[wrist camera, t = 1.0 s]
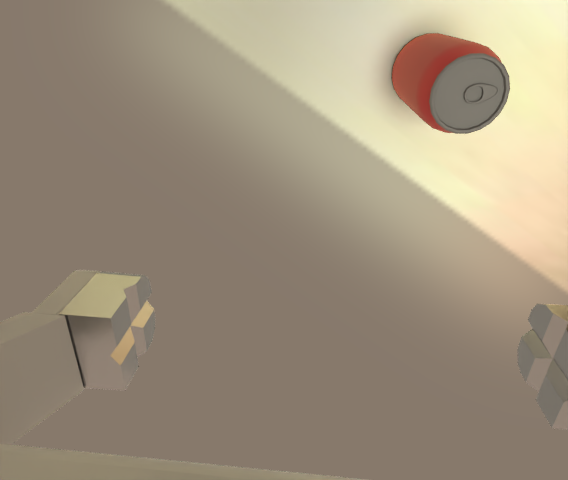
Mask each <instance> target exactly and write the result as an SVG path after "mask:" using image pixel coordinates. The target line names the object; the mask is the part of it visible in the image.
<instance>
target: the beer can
mask: <svg viewBox="0 0 568 480" xmlns="http://www.w3.org/2000/svg"><path fill="white" fill-rule="evenodd" d="M392 81H393V86H394V89H395V91H396V93H397V94H398V96H399V97H400V98H401V99H402V100H403V101H404V102H405V103H406V104H407V105H408V106H409V107H410V108H411V109H412V110H413V111H414V112H415V113H416V114H417V115H418V116H419V117H420V118H421V119H422V120H423V121H425V122H426V123H427V124H428V125H430V126H431V127H432V128H434V129H437V130H440V131H443V132H447V133H471V132H474V131H477V130H480V129H482V128H483V127H485V126H486V125H488V124H490V123H491V122H492V121H493V120H494V119H495V118H496V117H497V116H498V115H499V114H500V112H501V111H502V109H503V107H504V105H505V104H506V102H507V98H508V94H509V90H510V83H509V75H508V73H507V71H506V69H505V66H504V65H503V64H502V63H501V60H500V59H499V57H498V56H497V55H496V54H495V53H494V52H493V51H492V50H491V49H489V48H488V47H486V46H483V45H481V44H478V43H475V42H471V41H467V40H463V39H459V38H455V37H451V36H447V35H443V34H439V33H433V34H424V35H421V36H419V37H416V38H414V39H413V40H412V41H410V42H409V43H408V44H406V45H405V46H404V48H403V49H402V50H401V51H400V53H399V54H398V56H397V58H396V60H395V63H394V65H393V72H392Z"/></svg>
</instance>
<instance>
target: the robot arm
mask: <svg viewBox="0 0 568 480" xmlns="http://www.w3.org/2000/svg"><path fill="white" fill-rule="evenodd" d="M151 293H152V291H151V286H150V280H149V278H148V277H147V276H146V275H135V274H125V273H114V272H103V271H102V272H100V271H91V270H77V271H74V272H73V273H72V274H71V275H70V276H69V277H68V278H67V279H66V280H65V281H64V282H63V283H61V284H60V285H59V286H58V287H57V288H56V289H55V290H54V291H53V292H52V293H51V294H50V295H49V296H48V297H47V298H46V299H45V300H44V301H43V302H42V303H41V304H40V305H39V306H38V307H37V308H36V309H35V310H34V311H33V312H32V313H27V312H23V313H21V314H19V315H16V316H14V317H11V318H9V319H6V320H4V321H1V322H0V480H367V479H356V478H346V477H335V476H326V475H315V474H305V473H295V472H285V471H275V470H264V469H254V468H243V467H233V466H224V465H213V464H203V463H193V462H183V461H172V460H162V459H152V458H141V457H132V456H122V455H112V454H111V455H110V454H101V453H91V452H81V451H71V450H61V449H49V448H40V447H30V446H20V445H11V444H12V443H14V442H15V441H17V440H18V439H19V438H21V437H22V436H23V435H25V434H26V433H27V432H29V431H30V430H31V429H33V428H34V427H36V426H37V425H38V424H39V423H41V422H42V421H44V420H45V419H46V418H48V417H49V416H50V415H52V414H53V413H54V412H56V411H57V410H58V409H60V408H61V407H62V406H64V405H65V404H66V403H68V402H69V401H70V400H72V399H73V398H74V397H76V396H77V395H78V394H80V393H81V392H83V391H84V388H93V389H110V390H111V389H112V390H126V389H127V387H128V385H129V383H130V381H131V379H132V378H133V376H134V374H135V372H136V370H137V369H138V367H139V365H138V359H137V357H138V356H140V355H142V354H143V353H145V352H146V351H147V350H148V348H149V346H150V344H151V342H152V339H153V335H154V330H155V312H154V308H153V307H152V306H151V305H150V304H149V303H148V302H147V299H148V297H149V296H150V294H151ZM528 321H529V323H530V325H531V327H532V330H530V331H529V332H528V333H526V334H525V335H524V336H522V337H521V340H520V343H519V347H518V366H519V369H520V373H521V374H522V376H523V378H524V380H525V382H526V383H527V384H529V385H530V386H532V387H533V388H534V389H536V390H537V391H538V395H537V397H536V401H537V403H538V405H539V407H540V408H541V410H542V412H543V413H544V415H545V417H546V419H547V420H548V422H549V424H550V426H551V427H552V428H556V429H565V430H568V305H553V304H537V305H536V306H535V307H534V308H533V309H532V311H531V313H530V316H529V319H528Z"/></svg>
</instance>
